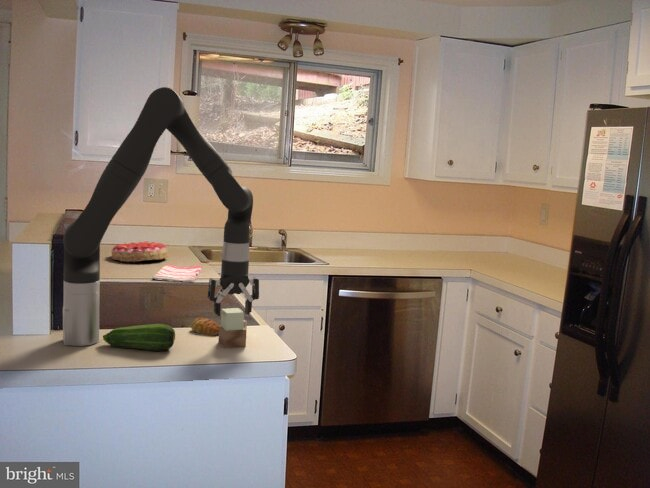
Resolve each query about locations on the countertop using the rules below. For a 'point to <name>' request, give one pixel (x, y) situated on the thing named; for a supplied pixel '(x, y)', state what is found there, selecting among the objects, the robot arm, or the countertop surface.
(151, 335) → the vegetable
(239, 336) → the walnut block
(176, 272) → the dish towel
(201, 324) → the pastry
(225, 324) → the sage cube
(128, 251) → the cake
